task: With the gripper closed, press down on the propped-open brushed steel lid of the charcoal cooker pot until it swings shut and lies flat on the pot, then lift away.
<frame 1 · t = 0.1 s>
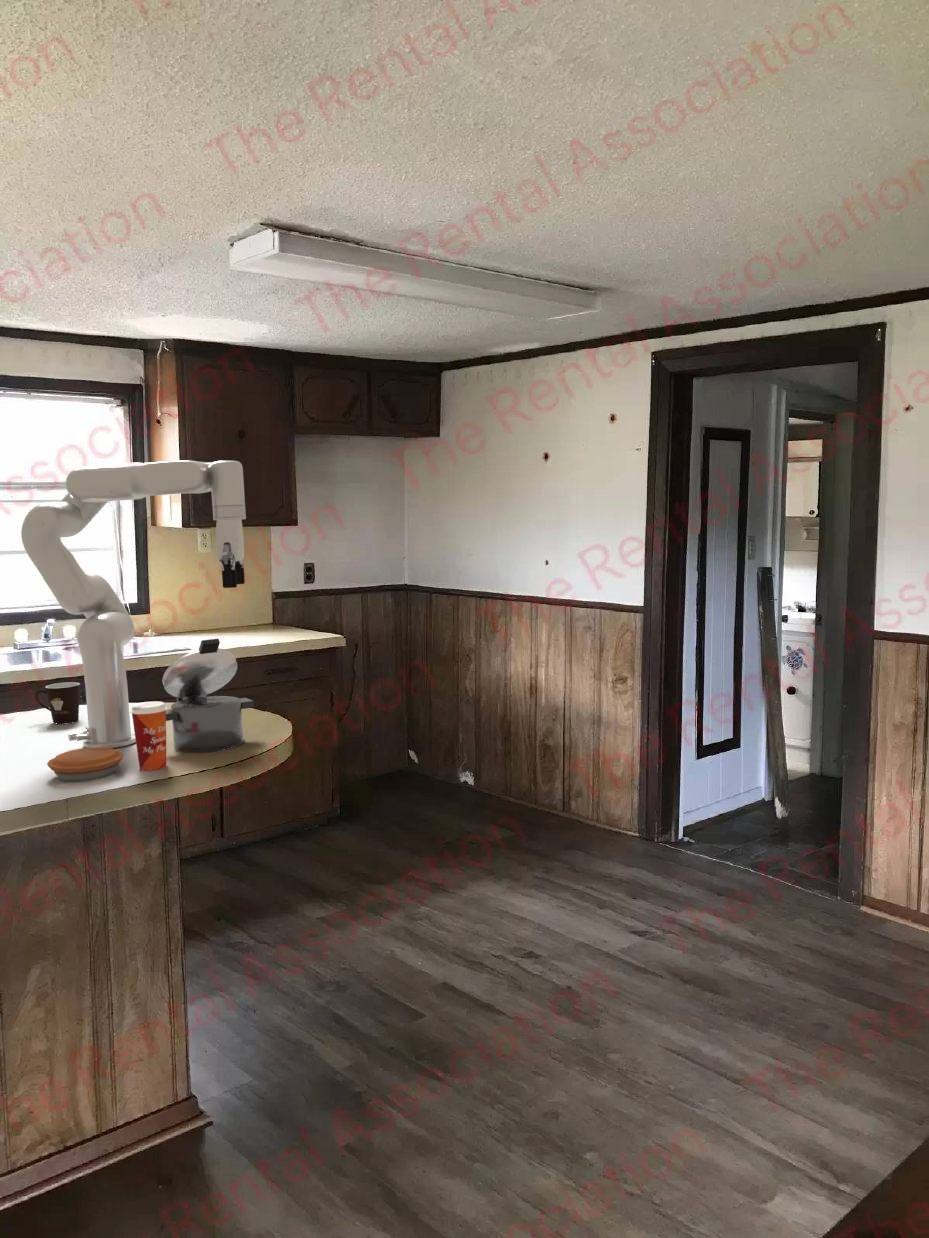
hand: (234, 585, 241), 37 cm above the table, tool pointing down, fingers open, 9 cm apart
cooker lid: (200, 667, 240), point 18 cm above the table, hinge at 45.0°
cooker pot: (209, 744, 240), on the table
coffee mug: (62, 721, 274), on the table
pie: (87, 775, 217), on the table
paper cup: (153, 767, 221), on the table
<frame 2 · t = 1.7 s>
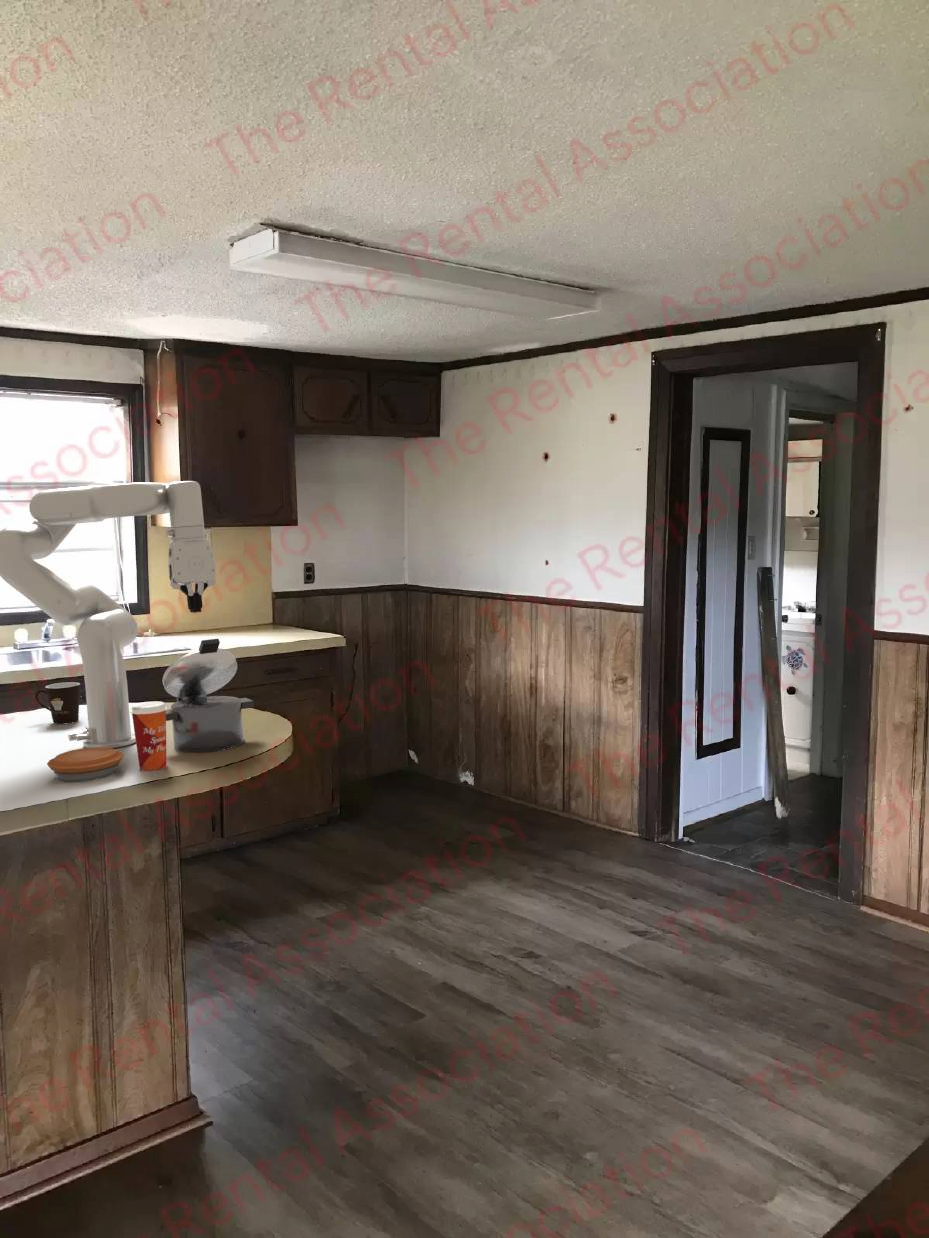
hand: (195, 611, 239), 32 cm above the table, tool pointing down, fingers closed
nothing on the table moved.
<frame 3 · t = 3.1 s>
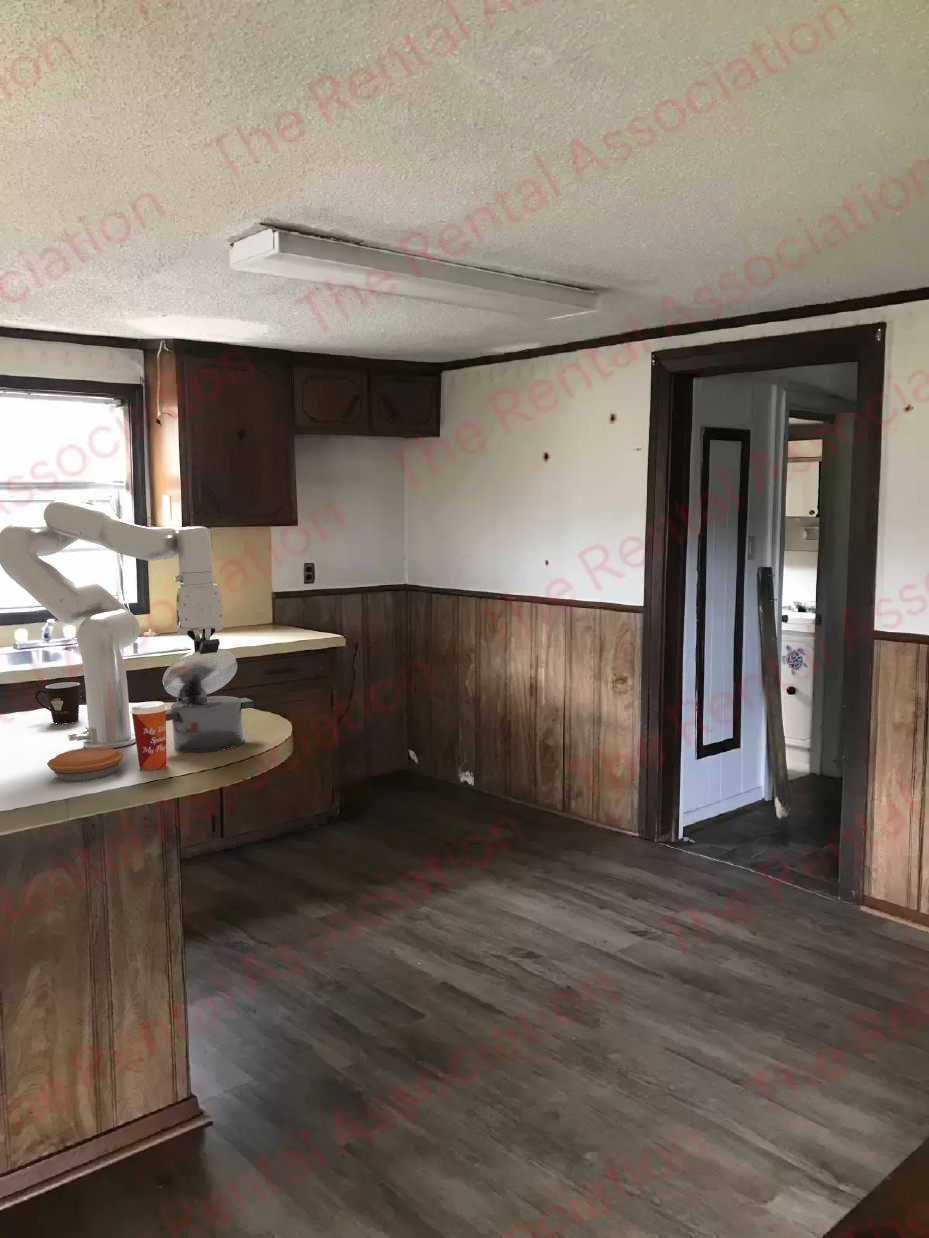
hand: (202, 657, 238), 21 cm above the table, tool pointing down, fingers closed
cooker lid: (200, 667, 240), point 18 cm above the table, hinge at 44.8°, touching gripper
everything else where it was.
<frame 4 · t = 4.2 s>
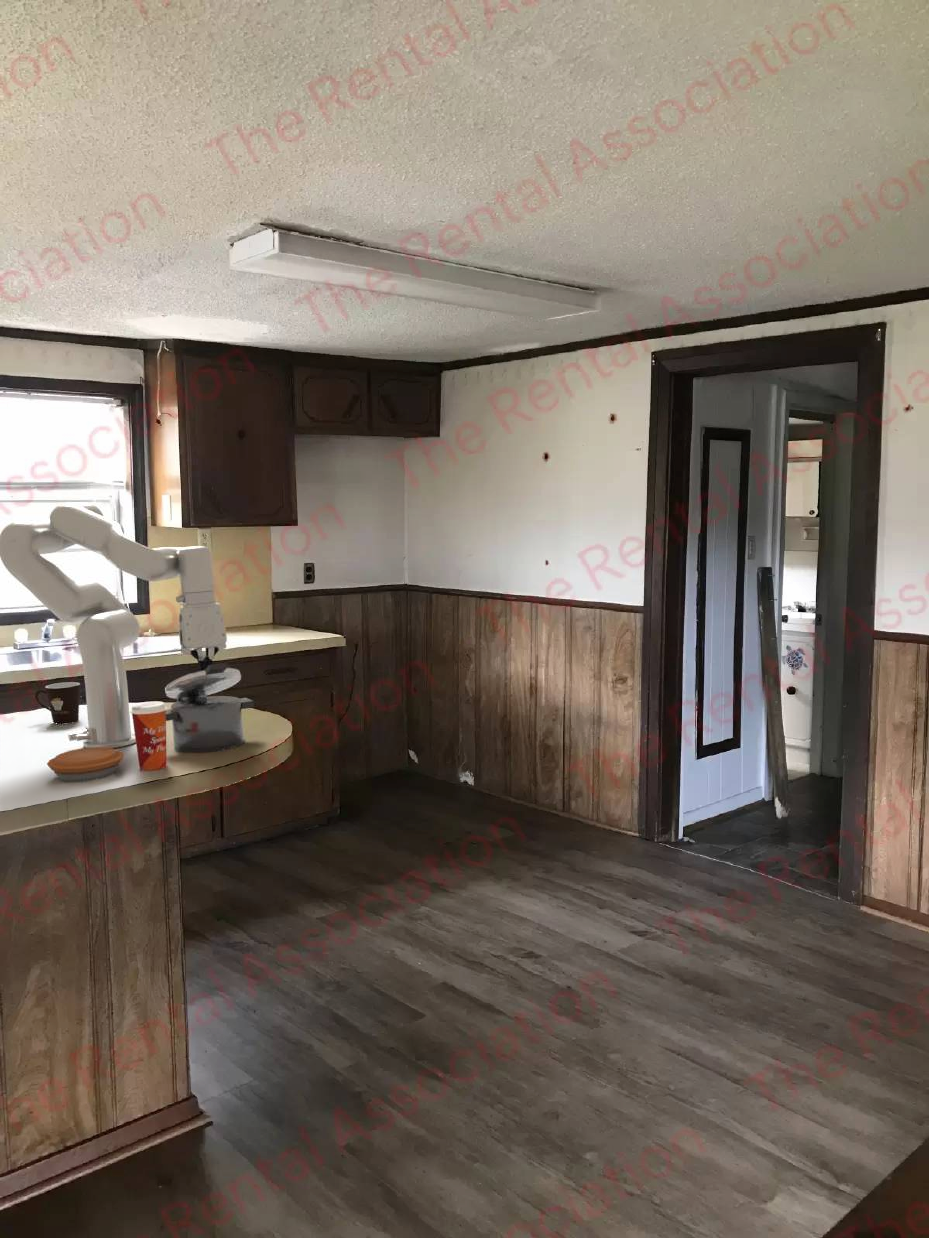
hand: (206, 676, 239), 16 cm above the table, tool pointing down, fingers closed
cooker lid: (204, 678, 238), point 16 cm above the table, hinge at 26.7°, touching gripper
everything else where it was.
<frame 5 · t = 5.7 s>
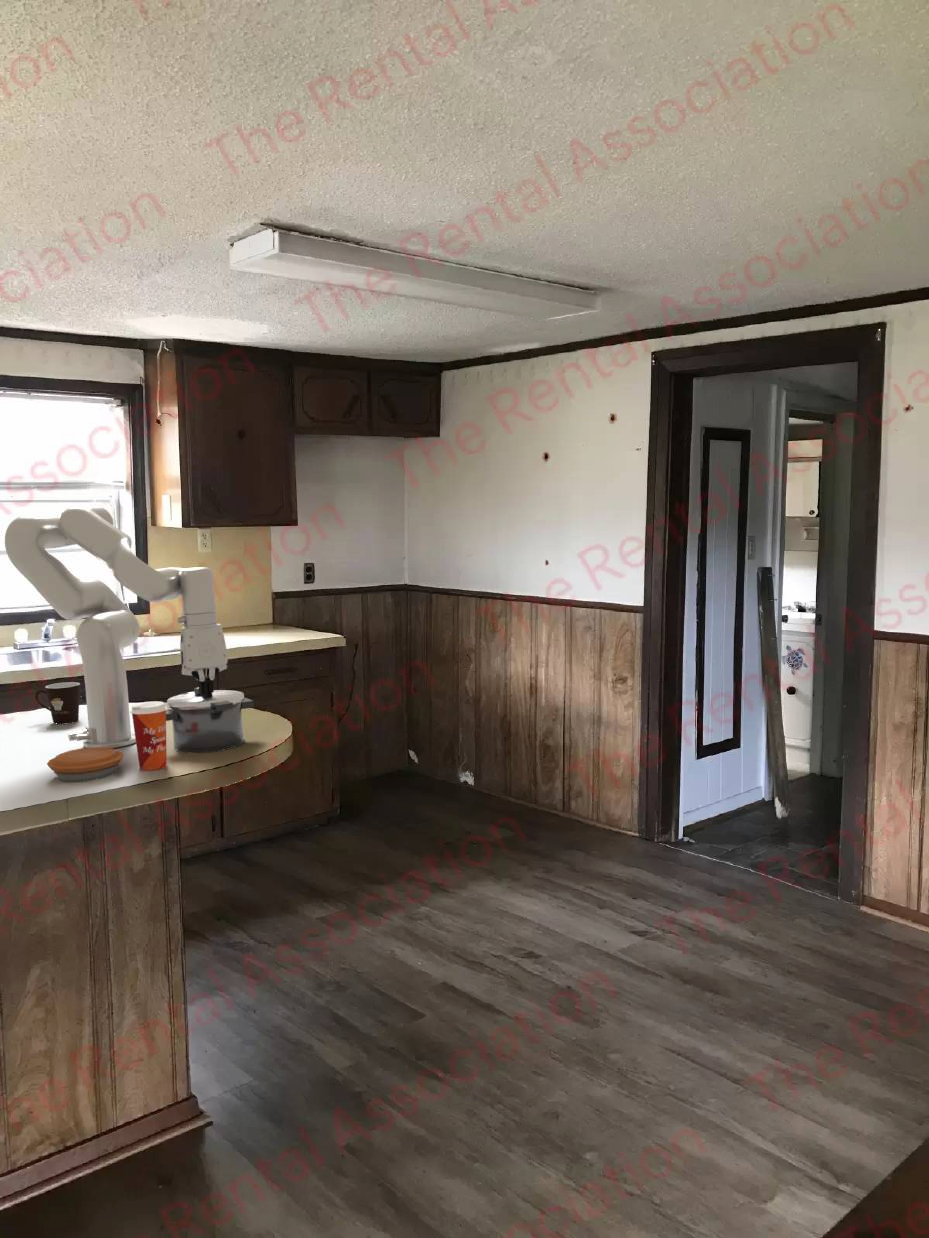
hand: (206, 696, 239), 11 cm above the table, tool pointing down, fingers closed
cooker lid: (207, 697, 238), point 11 cm above the table, hinge at 0.5°, touching gripper
everything else where it was.
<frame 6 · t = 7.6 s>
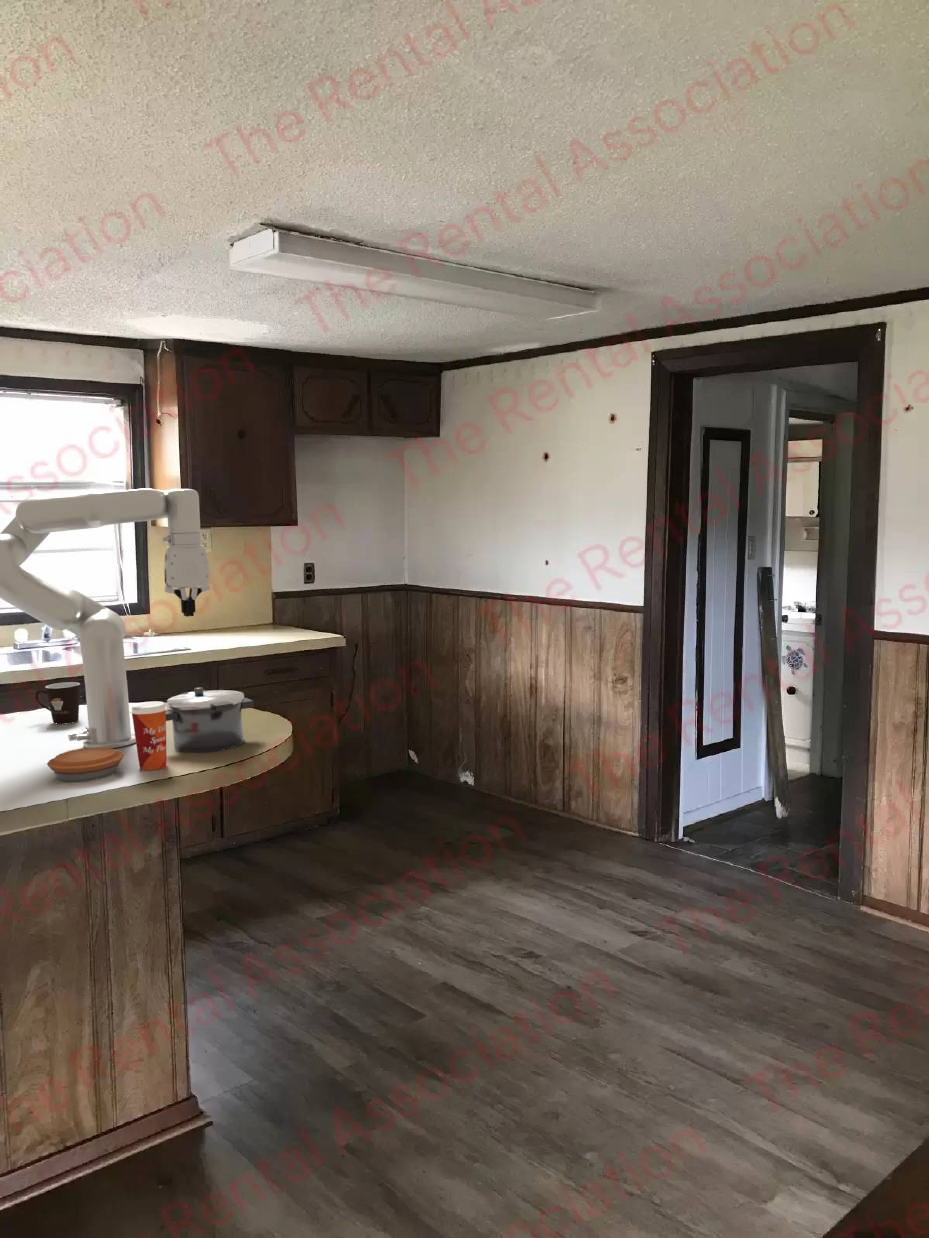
hand: (188, 615, 246), 30 cm above the table, tool pointing down, fingers closed
cooker lid: (207, 697, 238), point 11 cm above the table, hinge at 0.2°
everything else where it was.
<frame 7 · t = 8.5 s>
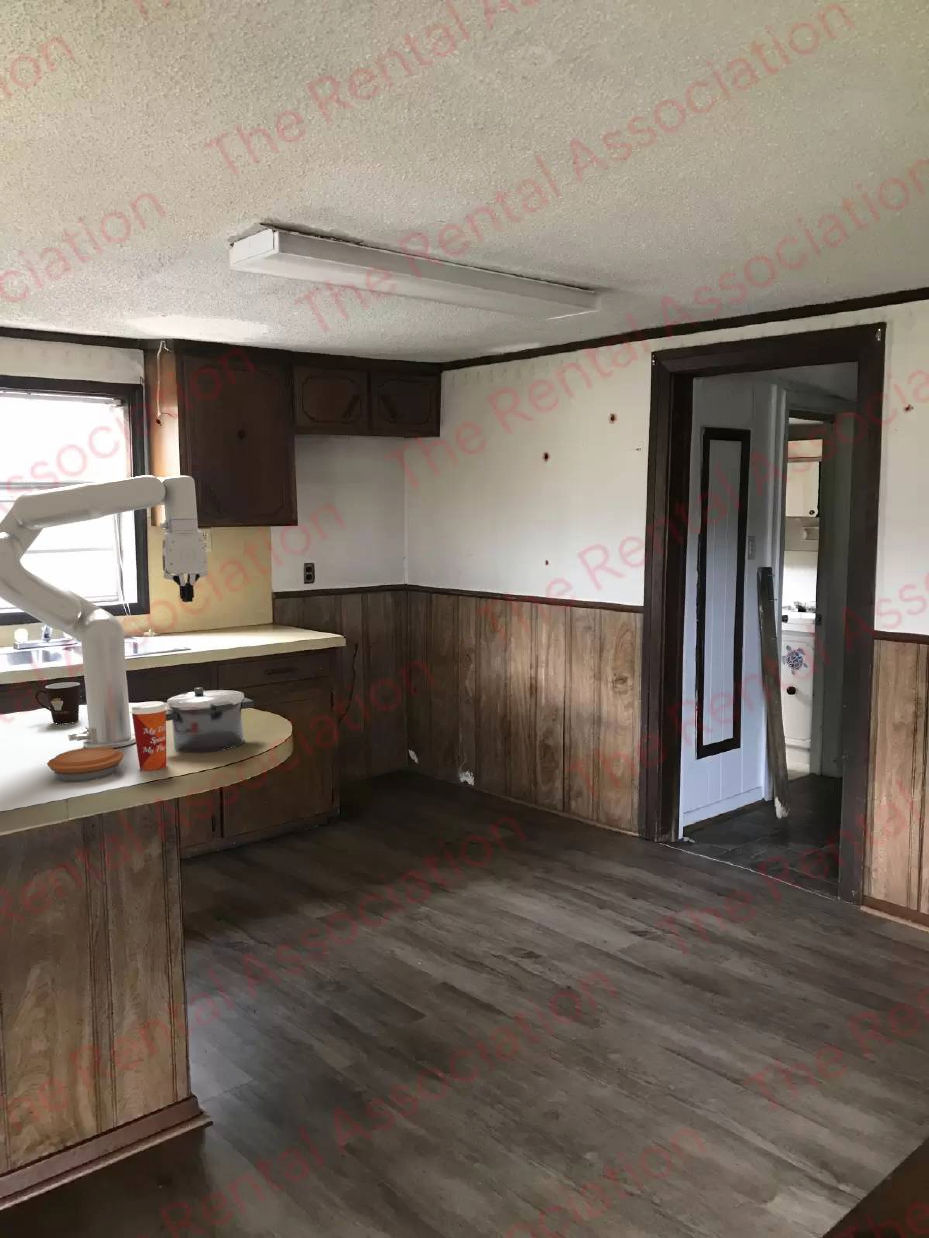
hand: (187, 601, 249), 33 cm above the table, tool pointing down, fingers closed
nothing on the table moved.
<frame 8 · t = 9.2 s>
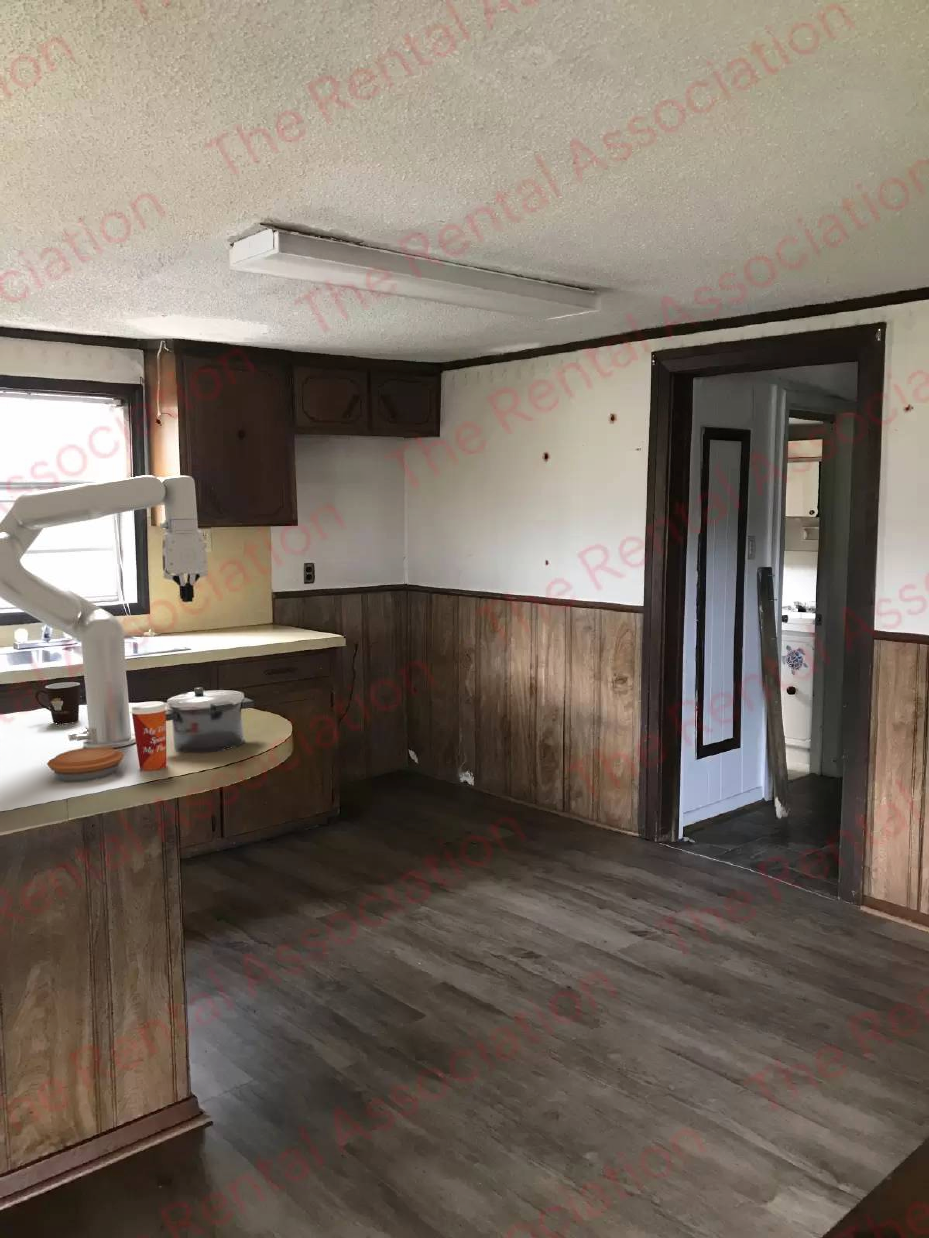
hand: (187, 601, 249), 33 cm above the table, tool pointing down, fingers closed
nothing on the table moved.
at the end: cooker lid at +0° (first picture: +45°); paper cup moved 0.2 cm from its start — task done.
